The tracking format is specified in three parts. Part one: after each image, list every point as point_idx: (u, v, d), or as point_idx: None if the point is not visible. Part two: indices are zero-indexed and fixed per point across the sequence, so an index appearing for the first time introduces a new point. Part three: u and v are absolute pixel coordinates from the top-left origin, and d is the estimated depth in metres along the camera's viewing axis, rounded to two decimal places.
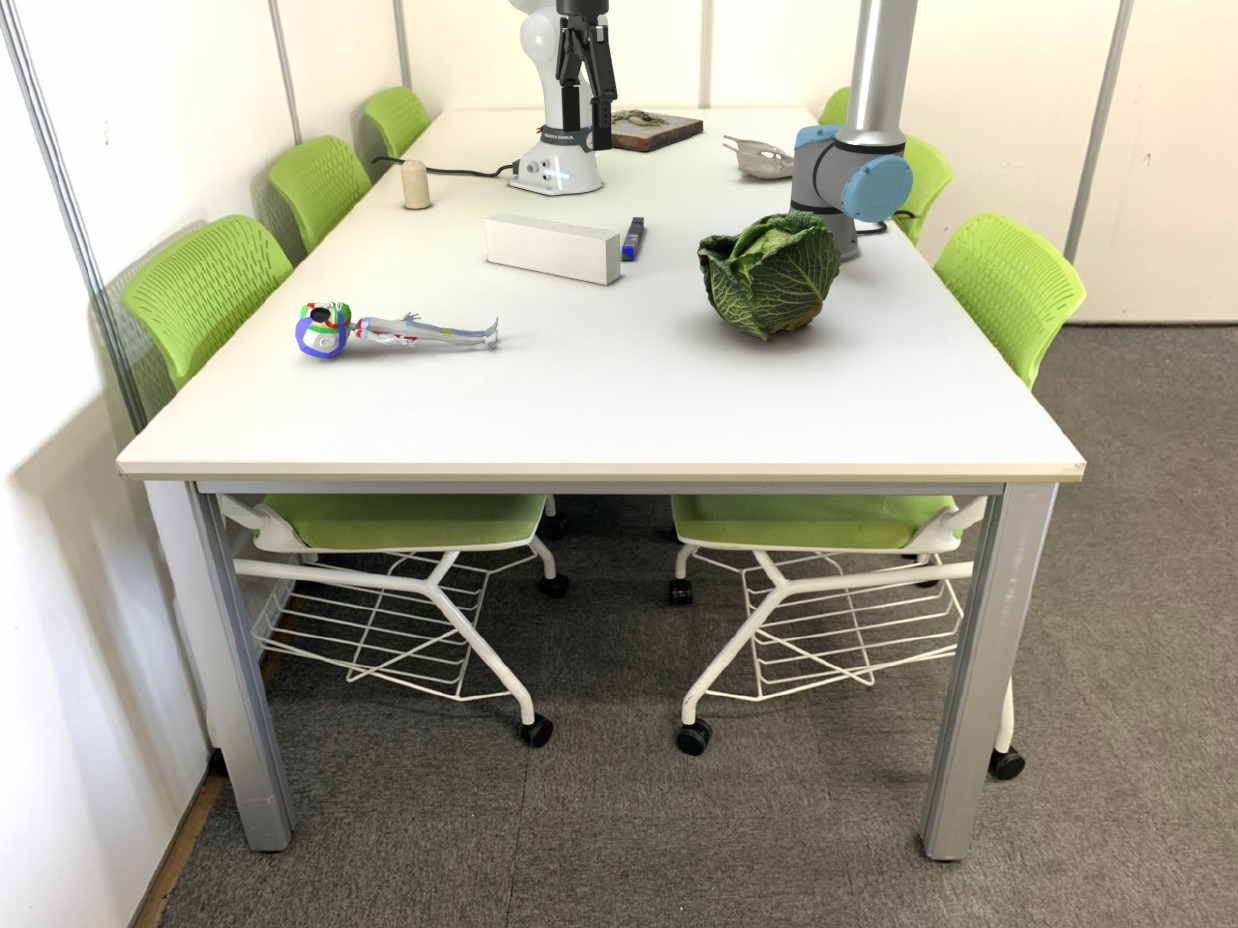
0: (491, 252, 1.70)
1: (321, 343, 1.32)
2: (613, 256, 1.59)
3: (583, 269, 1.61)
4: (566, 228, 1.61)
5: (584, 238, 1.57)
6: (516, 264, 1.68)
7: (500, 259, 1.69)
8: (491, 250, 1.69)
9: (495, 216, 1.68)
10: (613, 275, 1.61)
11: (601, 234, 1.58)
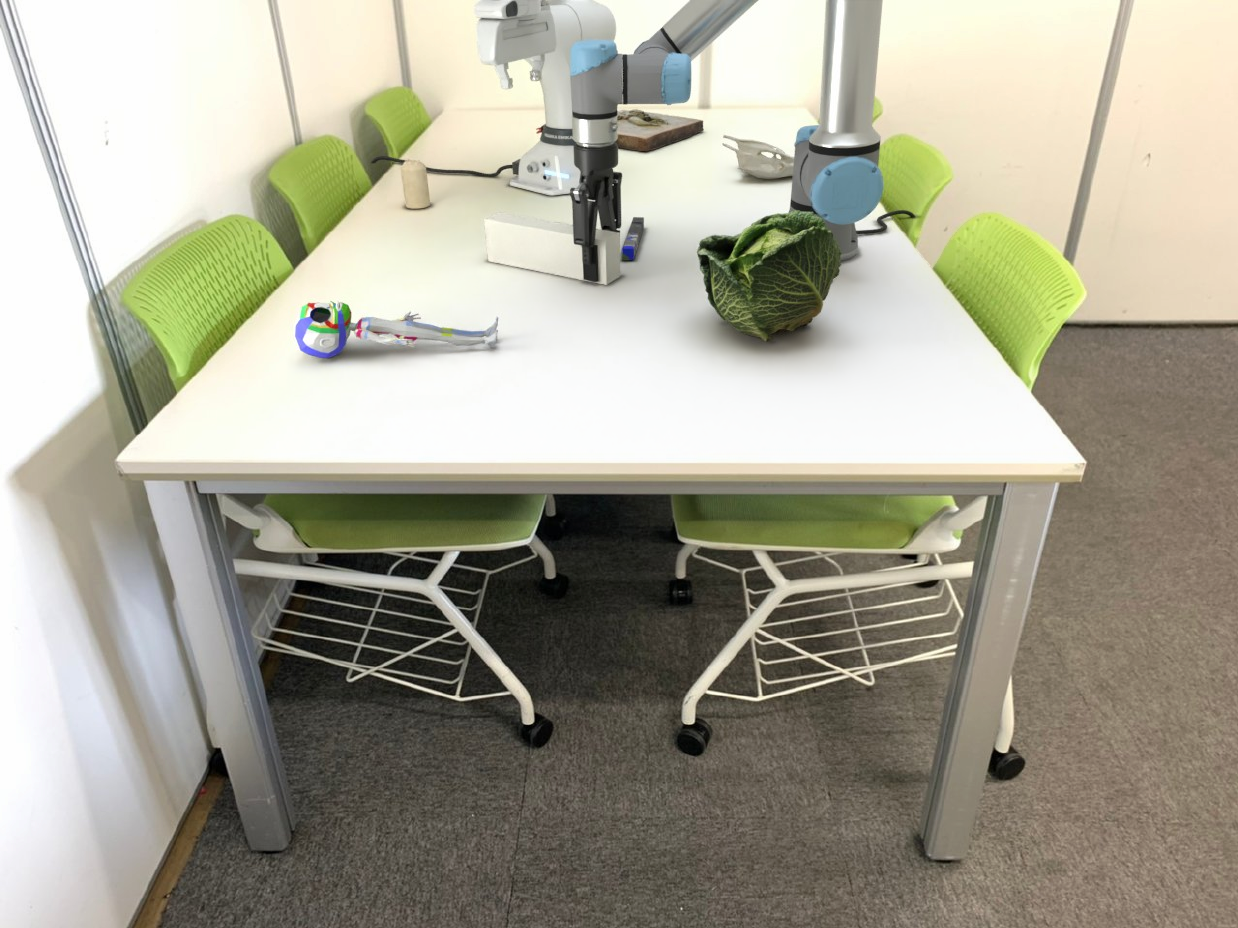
0: (491, 252, 1.70)
1: (321, 343, 1.32)
2: (613, 256, 1.59)
3: None
4: (566, 228, 1.61)
5: None
6: (516, 264, 1.68)
7: (500, 259, 1.69)
8: (491, 250, 1.69)
9: (495, 216, 1.68)
10: (613, 275, 1.61)
11: (601, 234, 1.58)
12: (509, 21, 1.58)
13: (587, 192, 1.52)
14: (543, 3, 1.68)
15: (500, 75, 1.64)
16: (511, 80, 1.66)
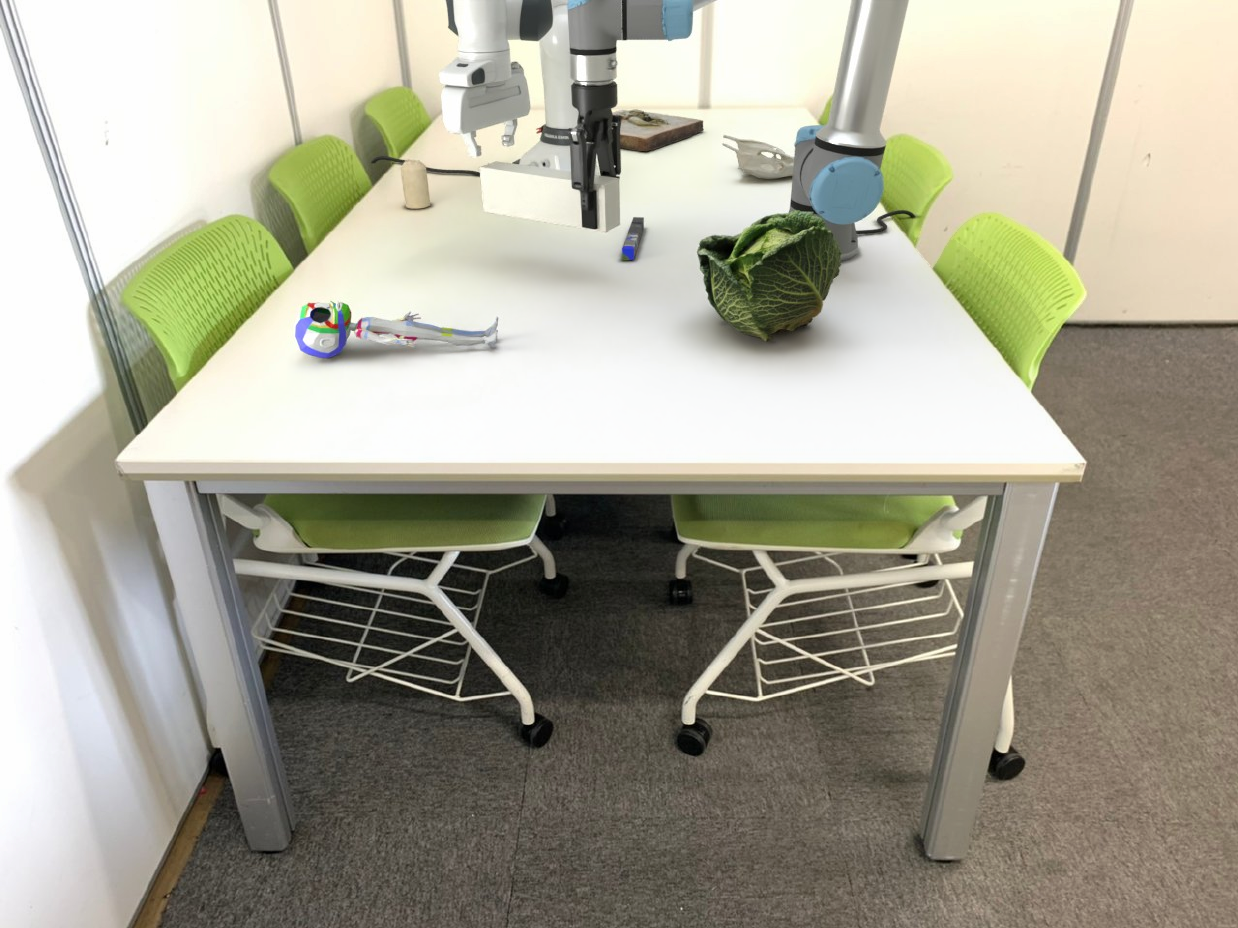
0: (487, 202, 1.65)
1: (321, 343, 1.32)
2: (612, 202, 1.54)
3: (581, 217, 1.56)
4: (563, 175, 1.56)
5: None
6: (512, 213, 1.63)
7: (496, 209, 1.64)
8: (487, 200, 1.64)
9: (491, 164, 1.63)
10: (612, 222, 1.56)
11: (600, 179, 1.53)
12: (476, 89, 1.50)
13: (585, 134, 1.47)
14: (515, 66, 1.60)
15: (467, 143, 1.56)
16: (479, 147, 1.57)
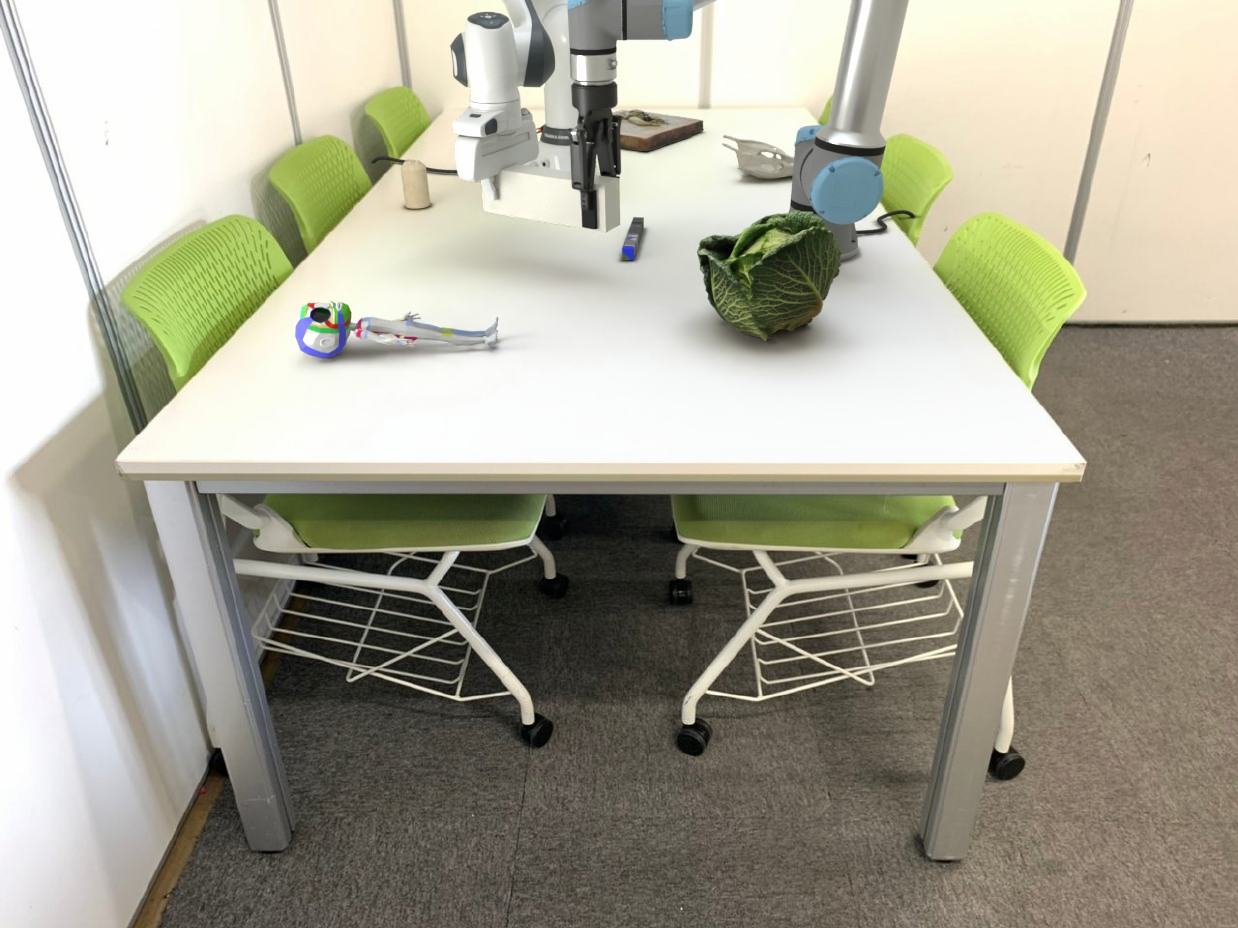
0: (487, 202, 1.65)
1: (321, 343, 1.32)
2: (613, 202, 1.54)
3: (581, 217, 1.56)
4: (563, 175, 1.56)
5: None
6: (512, 213, 1.63)
7: (496, 209, 1.64)
8: (487, 200, 1.64)
9: None
10: (612, 222, 1.56)
11: (600, 179, 1.53)
12: (489, 138, 1.53)
13: (585, 134, 1.47)
14: (525, 112, 1.64)
15: (485, 187, 1.61)
16: (497, 191, 1.62)
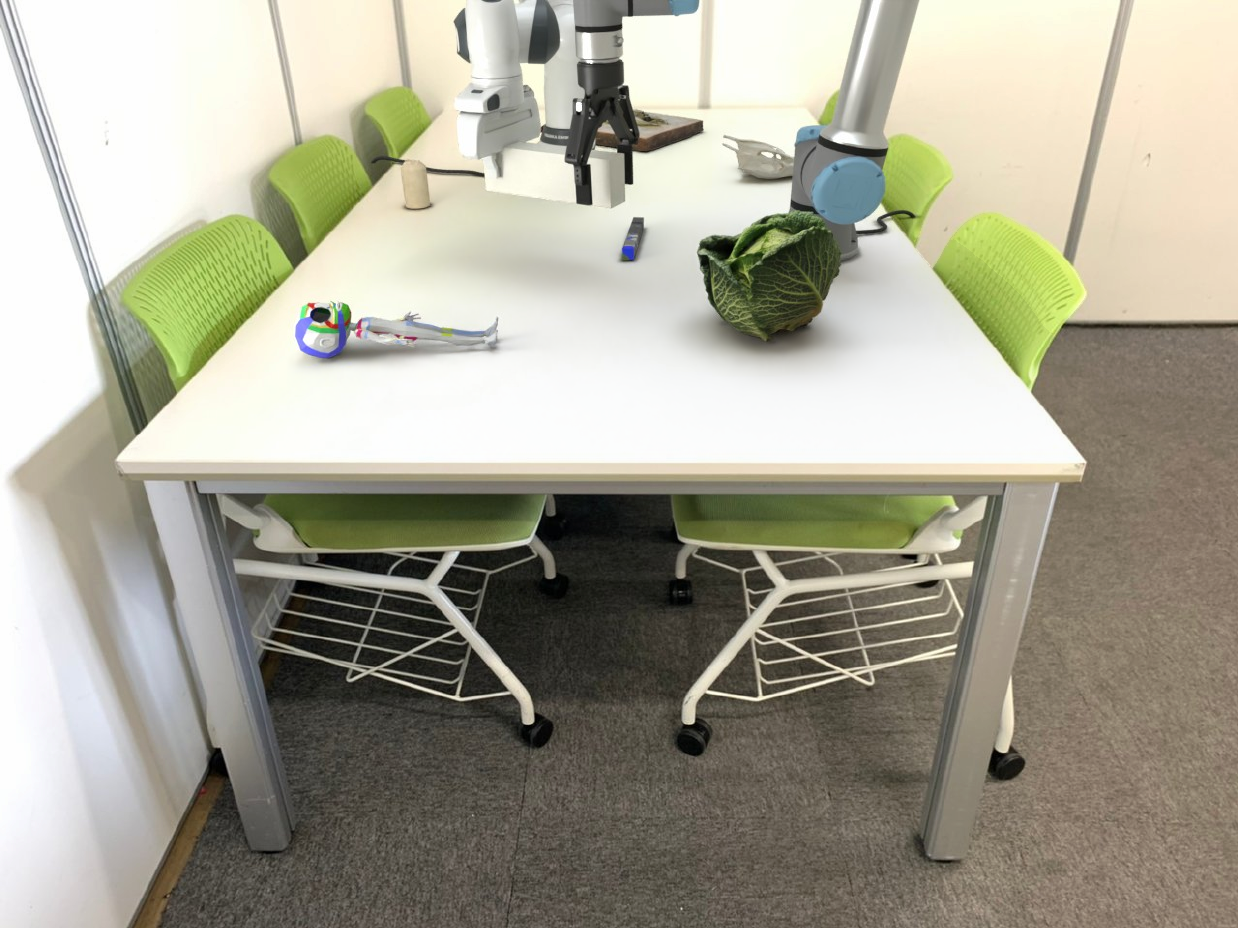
0: (489, 181, 1.62)
1: (321, 343, 1.32)
2: (617, 178, 1.52)
3: None
4: None
5: None
6: (515, 192, 1.61)
7: (499, 188, 1.62)
8: (489, 179, 1.62)
9: None
10: (617, 199, 1.54)
11: (604, 155, 1.51)
12: (491, 114, 1.51)
13: (592, 113, 1.45)
14: (526, 89, 1.61)
15: (488, 165, 1.59)
16: (499, 169, 1.60)
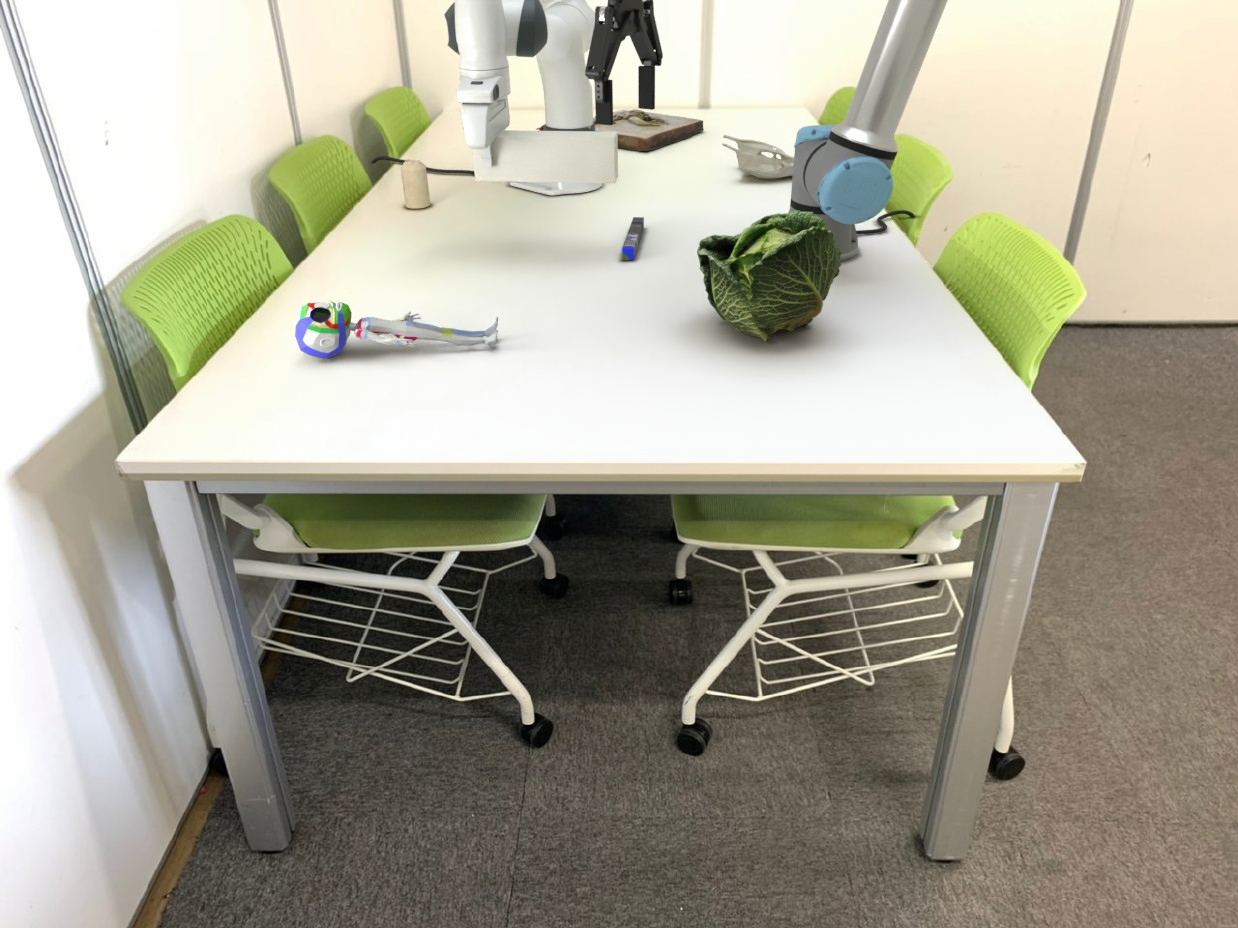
0: (479, 170, 1.67)
1: (321, 343, 1.32)
2: (616, 155, 1.65)
3: (588, 172, 1.65)
4: (563, 134, 1.64)
5: (590, 139, 1.62)
6: (509, 178, 1.67)
7: (491, 176, 1.68)
8: (480, 169, 1.67)
9: None
10: (616, 174, 1.67)
11: (602, 134, 1.64)
12: (493, 104, 1.57)
13: (615, 25, 1.36)
14: None
15: (483, 154, 1.64)
16: (492, 158, 1.66)
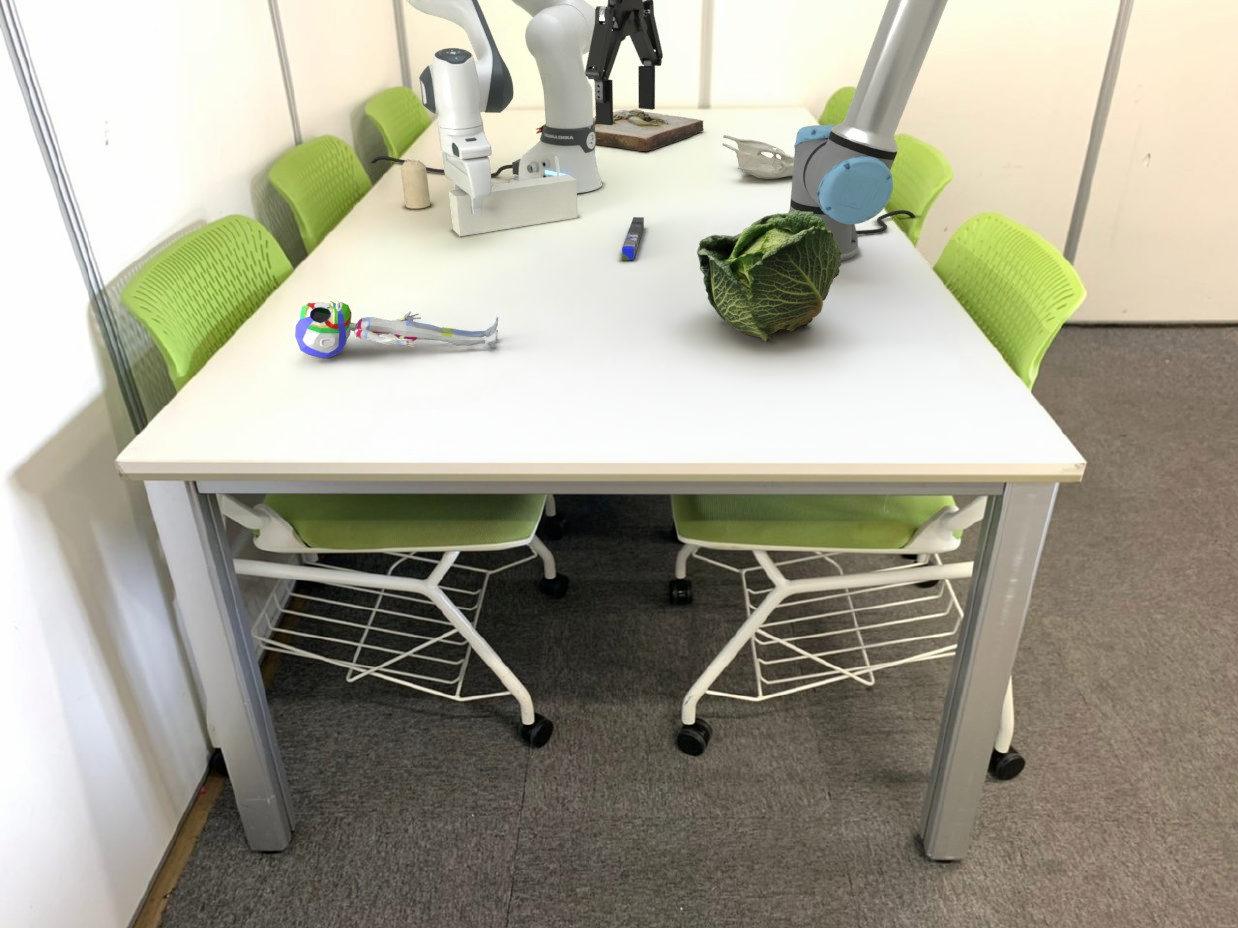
0: (464, 226, 1.83)
1: (321, 343, 1.32)
2: None
3: (556, 211, 1.91)
4: (529, 183, 1.88)
5: (557, 183, 1.88)
6: (490, 229, 1.86)
7: (474, 230, 1.85)
8: (464, 225, 1.83)
9: (456, 193, 1.82)
10: None
11: (560, 178, 1.90)
12: None
13: (615, 25, 1.36)
14: None
15: (475, 205, 1.79)
16: None
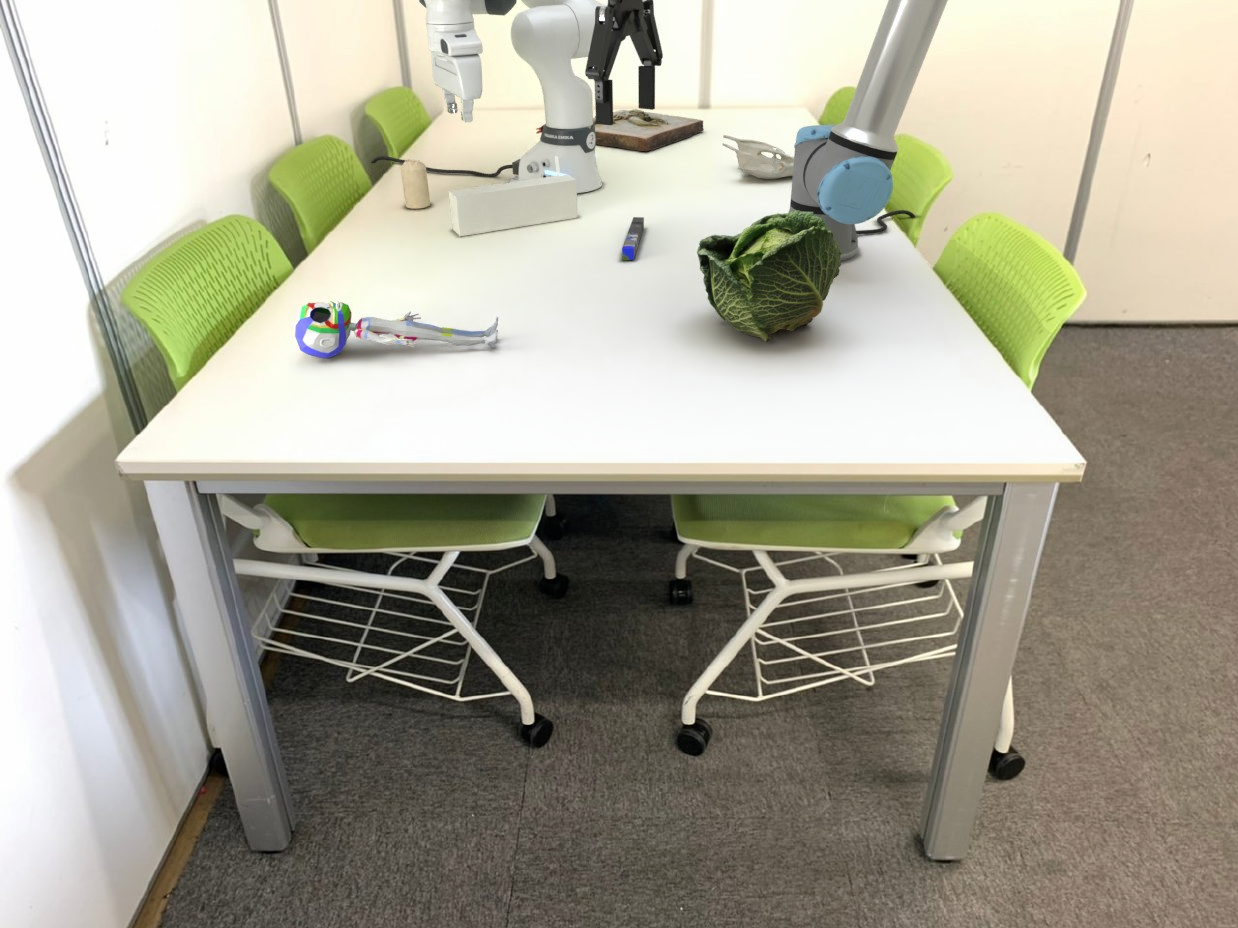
0: (464, 226, 1.83)
1: (321, 343, 1.32)
2: None
3: (556, 211, 1.91)
4: (529, 183, 1.88)
5: (557, 183, 1.88)
6: (490, 229, 1.86)
7: (474, 230, 1.85)
8: (464, 225, 1.83)
9: (456, 193, 1.82)
10: None
11: (560, 178, 1.90)
12: None
13: (615, 25, 1.36)
14: None
15: (466, 109, 1.69)
16: None
